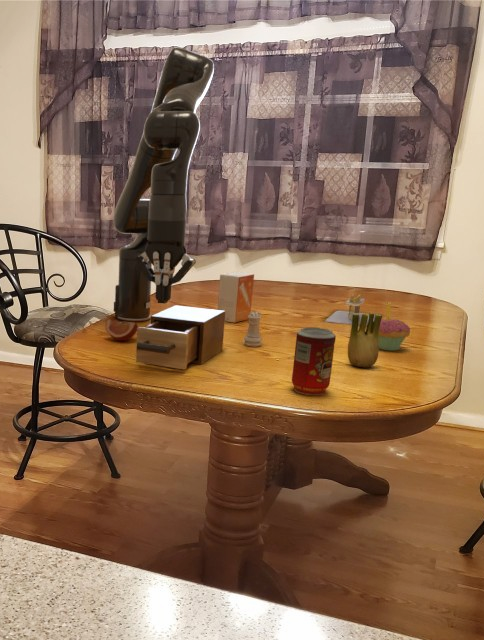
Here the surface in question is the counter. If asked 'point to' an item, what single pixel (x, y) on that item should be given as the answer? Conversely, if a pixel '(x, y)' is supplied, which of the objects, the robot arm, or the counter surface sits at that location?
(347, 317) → the platform
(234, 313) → the small box
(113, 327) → the fruit slice
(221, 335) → the cabinet
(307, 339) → the red food can
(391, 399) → the counter surface
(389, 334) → the cupcake
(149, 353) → the drawer
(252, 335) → the rook chess piece
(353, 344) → the fennel bulb
